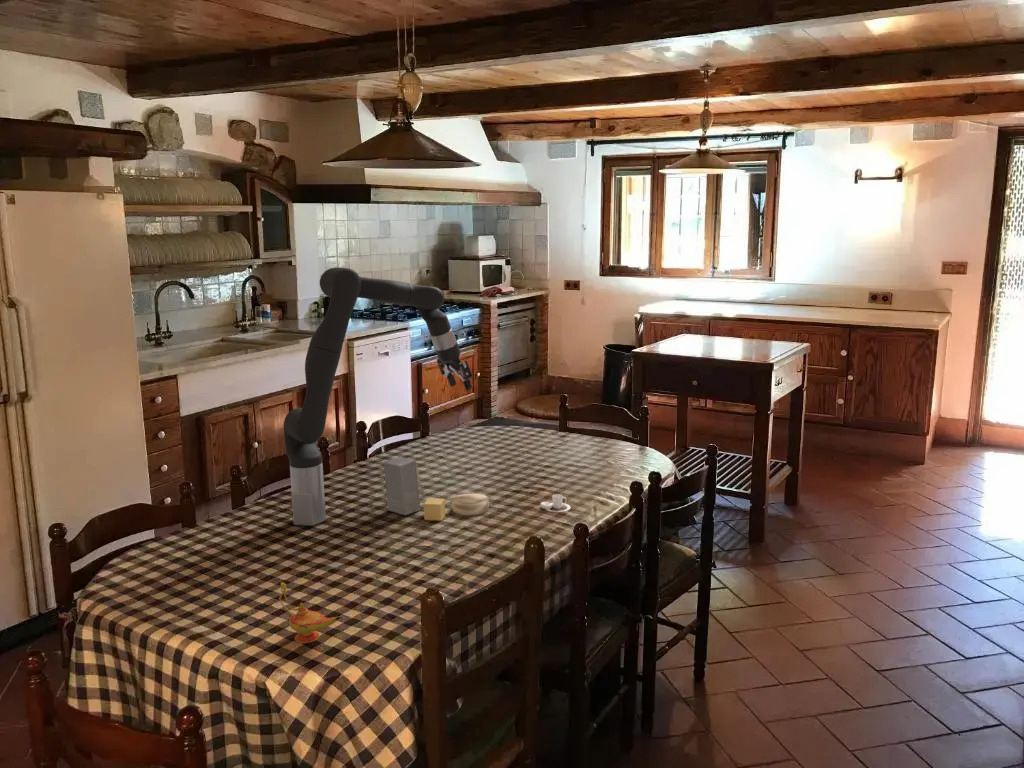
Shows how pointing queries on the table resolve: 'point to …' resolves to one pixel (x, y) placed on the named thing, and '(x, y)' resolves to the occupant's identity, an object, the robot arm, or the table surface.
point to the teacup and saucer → (555, 503)
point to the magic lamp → (307, 621)
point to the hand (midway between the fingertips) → (461, 387)
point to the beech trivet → (470, 504)
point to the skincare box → (402, 485)
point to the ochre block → (434, 509)
